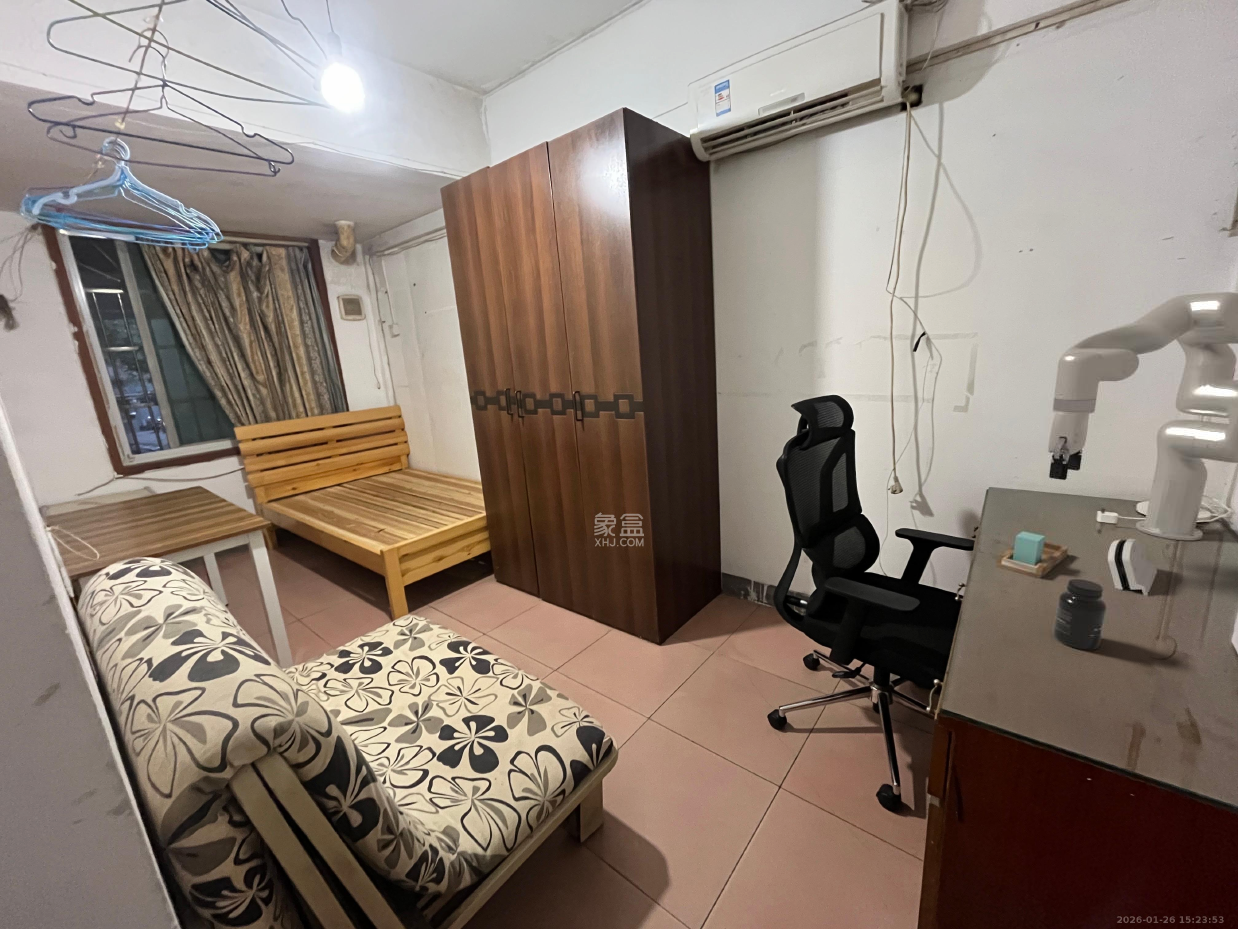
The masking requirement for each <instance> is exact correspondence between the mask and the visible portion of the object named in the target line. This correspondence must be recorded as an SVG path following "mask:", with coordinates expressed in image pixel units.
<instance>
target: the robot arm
mask: <svg viewBox="0 0 1238 929" xmlns="http://www.w3.org/2000/svg"><path fill="white" fill-rule="evenodd" d="M1174 341H1177V343H1178V344H1179V346H1180V348H1182V351H1183V352H1184V355H1185V365H1184V369H1183V372H1182V377H1181V380H1180V383H1179V385H1178V387H1179V388H1178V391H1177V394H1176V399H1175V408H1176V410H1178V411H1179V412H1180V413H1183V414H1187V415H1192V416H1193V415H1194V416H1201V417H1203V416H1204V417H1213V418H1224V419H1228V423H1225V422H1224V423H1222V422H1214V421H1207V420H1198V419H1175V420H1170V421H1168V422H1166V423H1164V424H1162V426H1161V427H1160V428H1159V429H1158V431H1157V434H1156V448H1157V449H1156V450H1157V452H1156V454H1157V455H1156V456H1157V458H1156V465H1155V471H1154V476H1153V480H1152V485H1151V491H1150V495H1149V500H1148V504H1147V509H1146V515H1145V520H1140V521H1137V522H1136V524H1135V528H1136V529H1137V530H1139V531H1140V532H1142V533H1145V534H1147V535H1150V536H1154V537H1159V538H1163V539H1169V540H1177V541H1197V540H1200V539H1202V538H1203V535H1204V533H1203V532H1202V531H1201V530H1200V529H1197V528H1196V527H1197V526H1196V525H1197V522H1198V519H1199V518H1198V517H1199V513H1200V509H1201V507H1202V506H1201V504H1202V500H1203V496H1204V492H1205V488H1206V484H1207V481H1208V469H1207V467H1206V465H1205V464H1204V461H1203V460H1202V459H1204V460H1211V461H1216V462H1224V463H1231V464H1238V379H1234V378H1233V376H1234V371H1235V369H1236V365H1237V355H1236V354H1235V352H1234V350H1233V348H1231V346H1230V345H1231V344H1232V345H1233V344H1235V345H1236V344H1238V292H1232V291H1229V292H1228V291H1225V292H1223V291H1221V292H1209V293H1193V294H1184V295H1179V296H1175V297H1171V298H1170V299H1168V300H1165V302H1163V303H1161V304H1160V305H1158V306H1157V307H1155V308H1154V309H1152V310H1151V311H1149V312H1147V313H1146V314H1144V315H1143V316H1141V317H1140V318H1138V319H1137V320H1135V321H1133V322H1131V323H1127V324H1124V325H1120V326H1117V327H1114V328H1111V329H1108V330H1105V331H1101V332H1099V333H1096V334H1093V335H1091V336H1088V337H1085V338H1084V339H1081V341H1080V340H1079V342H1077V343H1076V344H1074V345H1073V346H1071V347H1070V348H1068V349H1067V350H1066V351H1065V352H1064V353H1063V354H1062V355H1061V356H1060V358H1059V359H1058V362H1057V372H1056V379H1055V380H1056V381H1055V389H1054V396H1053V403H1052V412H1053V413H1054V418H1053V420H1052V424H1051V429H1050V434H1049V440H1048V444H1047V445H1048V446H1047V452H1048V453H1053V454H1052V455H1051V460H1050V466H1049V473H1048V474H1049V475H1048V478H1050V479H1055V480H1060V481H1061V480H1063V481H1065V480H1067V477H1068V472H1069V470H1070V471H1080V470H1081V466H1082V458H1083V449H1084V447H1085V444H1086V441H1087V436H1088V429H1089V428H1088V427H1089V420H1090V419H1089V418H1090V417H1089V415H1090V414H1093V413H1095V411H1096V404H1097V396H1098V392H1099V391H1098V390H1099V385H1100V382H1119V381H1124V380H1126V379H1128V378H1130V377H1131V376H1133V375H1134V374H1135V372H1137V370H1138V368H1139V365H1140V358H1139V357H1138V356H1139V355H1143V354H1149V353H1153V352H1157V351H1159V350H1161V349H1163V348H1165V347H1166V346H1168V345H1169V344H1171V343H1172V342H1174ZM1229 344H1230V345H1229Z"/></svg>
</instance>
